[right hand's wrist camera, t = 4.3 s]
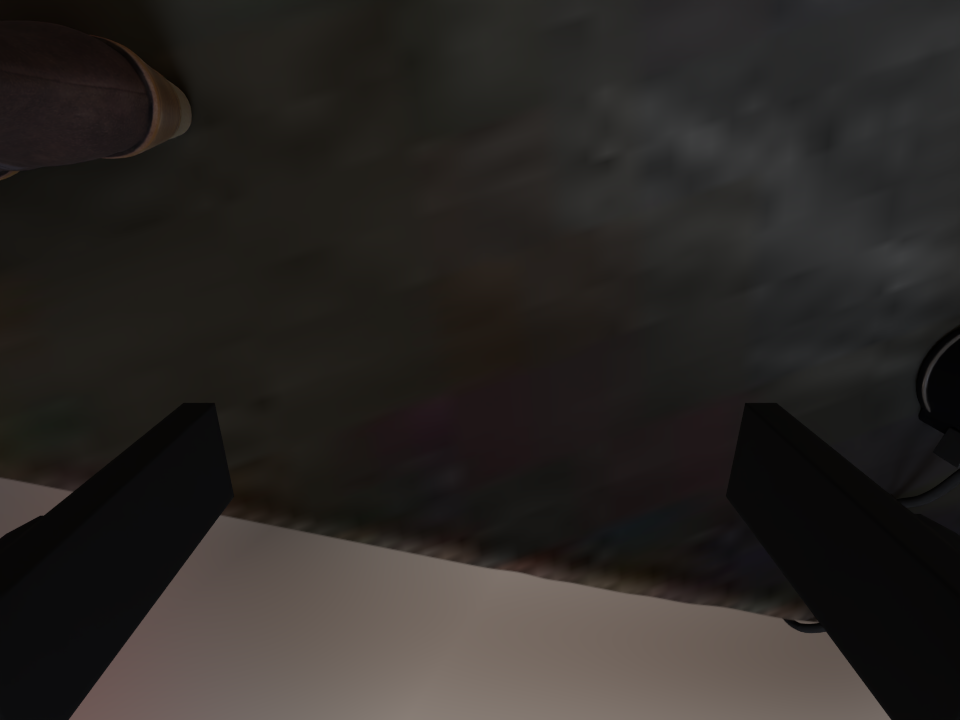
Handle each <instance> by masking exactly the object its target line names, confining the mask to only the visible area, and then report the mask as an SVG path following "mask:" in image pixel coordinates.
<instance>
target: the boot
mask: <svg viewBox="0 0 960 720" xmlns="http://www.w3.org/2000/svg"><path fill="white" fill-rule="evenodd" d="M191 117H192V114H191V107H190V104H189V101H188V99H187V98H186V96H185V94H184V93H183V92H182V91H181V90H180V89H179V88H178V87H176V86H175V85H174V84H172V83H171V82H170V81H168V80H167V79H165V78H164V77H163V76H162V75H161V74H160V73H158V72H157V71H156V70H154V69H152V68H151V67H150V66H149V65H147V64H146V63H145V62H144V61H143V60H142V59H141V58H140V57H139V56H137V55H136V54H135V53H134V52H133V51H131V50H130V49H128V48H127V47H125V46H123V45H121V44H119V43H117V42H114V41H112V40H109V39H106V38H102V37H98V36H94V35H88V34H85V33H83V32H81V31H78V30H76V29H73V28H70V27H66V26H63V25H59V24H54V23H49V22H40V21H32V20H7V21H0V180H3V179H6V178H8V177H11V176H13V175H14V174H16V173H18V172H19V171H23V170H31V169H36V168H41V167H49V166H61V165H69V164H75V163H80V162H85V161H90V160H95V159H99V158H126V157H131V156H134V155H137V154H140V153H142V152H144V151H146V150H148V149H150V148H152V147H155V146H157V145H159V144H161V143H163V142H165V141H167V140H169V139H172V138H175V137H177V136H180V135H182V134H184V133H185V132H186V131H187V130H188V128H189V126H190V124H191Z"/></svg>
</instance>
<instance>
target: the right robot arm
mask: <svg viewBox="0 0 960 720" xmlns="http://www.w3.org/2000/svg"><path fill="white" fill-rule="evenodd" d="M233 497H234V494H233V489H232V484H231V480H230V475H229V470H228V465H227V460H226V456H225V451H224V446H223V441H222V436H221V431H220V427H219V422H218V417H217V412H216V407H215V403H183V404H182V405H181V406H179V407H178V408H177V409H176V410H174V411H173V412H172V413H171V414H169V415H168V416H167V417H166V418H164V419H163V420H162V421H161V422H159V423H158V424H157V425H156V426H155V427H153V428H152V429H151V430H150V431H148V432H147V433H146V434H145V435H143V436H142V437H141V438H140V439H138V440H137V441H136V442H135V443H133V444H132V445H131V446H130V447H128V448H127V449H126V450H125V451H124V452H122V453H121V454H120V455H119V456H117V457H116V458H115V459H114V460H112V461H111V462H110V463H109V464H107V465H106V466H105V467H104V468H102V469H101V470H100V471H99V472H97V473H96V474H95V475H94V476H93V477H91V478H90V479H89V480H88V481H86V482H85V483H84V484H83V485H81V486H80V487H79V488H78V489H76V490H75V491H74V492H73V493H71V494H70V495H69V496H68V497H66V498H65V499H64V500H63V501H62V502H60V503H59V504H58V505H57V506H55V507H54V508H53V509H52V510H50V511H49V512H48V513H47V514H45V515H44V516H39V517H37V518H35V519H33V520H31V521H29V522H28V523H26V524H24V525H22V526H20V527H18V528H16V529H15V530H13V531H11V532H9V533H7V534H5V535H4V536H3V537H2V538H0V720H69V718H70V717H71V716H72V714H73V713H74V712H75V710H76V709H77V708H78V706H79V705H80V704H81V702H82V701H83V700H84V698H85V697H86V696H87V694H88V693H89V691H90V690H91V689H92V687H93V686H94V685H95V683H96V682H97V681H98V679H99V678H100V677H101V675H102V674H103V673H104V671H105V670H106V668H107V667H108V666H109V664H110V663H111V662H112V660H113V659H114V658H115V656H116V655H117V654H118V652H119V651H120V650H121V648H122V647H123V646H124V644H125V643H126V642H127V640H128V639H129V637H130V636H131V635H132V633H133V632H134V631H135V629H136V628H137V627H138V625H139V624H140V623H141V621H142V620H143V619H144V617H145V616H146V615H147V613H148V612H149V610H150V609H151V608H152V606H153V605H154V604H155V602H156V601H157V600H158V598H159V597H160V596H161V594H162V593H163V592H164V590H165V589H166V587H167V586H168V585H169V583H170V582H171V581H172V579H173V578H174V577H175V575H176V574H177V573H178V571H179V570H180V568H181V567H182V566H183V565H184V563H185V562H186V560H187V559H188V558H189V556H190V555H191V554H192V552H193V551H194V550H195V548H196V547H197V546H198V544H199V543H200V542H201V540H202V539H203V538H204V536H205V535H206V533H207V532H208V531H209V529H210V528H211V527H212V525H213V524H214V523H215V521H216V520H217V519H218V517H219V516H220V515H221V513H222V512H223V511H224V509H225V508H226V506H227V505H228V504H229V502H230V501H231V500H232V498H233ZM726 497H727V498H728V500H729V501H730V502H731V504H732V505H733V506H734V508H735V509H736V511H737V512H738V513H739V515H740V516H741V517H742V519H743V520H744V521H745V523H746V524H747V525H748V527H749V528H750V529H751V531H752V532H753V533H754V535H755V536H756V538H757V539H758V540H759V542H760V543H761V544H762V546H763V547H764V548H765V550H766V551H767V552H768V554H769V555H770V556H771V558H772V559H773V560H774V562H775V563H776V565H777V566H778V567H779V569H780V570H781V571H782V573H783V574H784V575H785V577H786V578H787V579H788V581H789V582H790V583H791V585H792V586H793V587H794V589H795V590H796V592H797V593H798V594H799V596H800V597H801V598H802V600H803V601H804V602H805V604H806V605H807V606H808V608H809V609H810V610H811V612H812V613H813V615H814V616H815V617H816V619H817V620H818V621H819V623H820V624H821V625H822V627H823V628H824V629H825V631H826V632H827V633H828V635H829V636H830V637H831V639H832V640H833V641H834V643H835V644H836V646H837V647H838V648H839V650H840V651H841V652H842V654H843V655H844V656H845V658H846V659H847V660H848V662H849V663H850V664H851V666H852V667H853V668H854V670H855V671H856V673H857V674H858V675H859V677H860V678H861V679H862V681H863V682H864V683H865V685H866V686H867V687H868V689H869V690H870V691H871V693H872V694H873V696H874V697H875V698H876V700H877V701H878V702H879V704H880V705H881V706H882V708H883V709H884V710H885V712H886V713H887V714H888V716H889V717H890V718H891V720H960V536H959V535H958V534H956V533H955V532H953V531H952V530H950V529H948V528H946V527H944V526H942V525H940V524H938V523H936V522H935V521H933V520H931V519H929V518H927V517H925V516H923V515H921V514H913V513H912V512H911V511H910V510H908V509H907V508H906V507H905V506H903V505H902V504H901V503H900V502H898V501H897V500H896V499H895V498H894V497H892V496H891V495H890V494H889V493H887V492H886V491H885V490H884V489H882V488H881V487H880V486H879V485H877V484H876V483H875V482H874V481H872V480H871V479H870V478H869V477H867V476H866V475H865V474H864V473H863V472H861V471H860V470H859V469H858V468H856V467H855V466H854V465H853V464H851V463H850V462H849V461H848V460H846V459H845V458H844V457H843V456H841V455H840V454H839V453H838V452H836V451H835V450H834V449H833V448H832V447H830V446H829V445H828V444H827V443H825V442H824V441H823V440H822V439H820V438H819V437H818V436H817V435H815V434H814V433H813V432H812V431H810V430H809V429H808V428H807V427H805V426H804V425H803V424H802V423H801V422H799V421H798V420H797V419H796V418H794V417H793V416H792V415H791V414H789V413H788V412H787V411H786V410H784V409H783V408H782V407H781V406H779V405H778V404H777V403H745V407H744V412H743V417H742V422H741V427H740V431H739V436H738V441H737V446H736V451H735V456H734V460H733V465H732V470H731V475H730V480H729V484H728V489H727V494H726Z"/></svg>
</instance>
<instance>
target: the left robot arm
mask: <svg viewBox="0 0 960 720" xmlns="http://www.w3.org/2000/svg"><path fill="white" fill-rule="evenodd" d="M917 397H918V400H919V403H920V405H921V407H922V410H921V413H920V415H919V419H920V420H921V421H923V422H925V423H927V424H928V425H930V426H932V427H933V428H935V429H937V430H939V431H940V432H942V433H944V434H945V435H944V436H943V438H942V439H941V441H940V442H939V444H938V445H937V447H936V448H935V450H934V451H933V453H935V454H936V455H938V456H939V457H941V458H942V459H944V460H946V461H947V462H949V463H950V464H952V465H953V466H955V467H957V468H960V329H958V330H956V331H954V332H953V333H951V334H950V335H948V336H947V337H946V338H945V339H943V340H942V341H941V342H940V343H939V344H938V345H937V346H936V347H935V348H934V349H933V350H932V352H931V353H930V354H929V355H928V357H927V358H926V360H925V362H924V363H923V365H922V367H921V370H920V372H919V375H918V379H917ZM959 484H960V469H958V470H957V471H956V472H954V473H953V474H952V475H951V476H949V477H948V478H947V479H945V480H944V481H943V482H941V483H940V484H939V485H937V486H936V487H934V488H933V489H931V490H929V491H927V492H925V493H923V494H921V495H918V496H915V497H909V498H901V499H896V500H897V501H898V502H900V503H901V504H902V505H903V506H905V507H906V508H908V507H917V506H922V505H925V504H928V503H930V502H932V501H934V500H936V499H938V498H940V497H941V496H943V495H945V494H946V493H948V492H949V491H951V490H952V489H953V488H955V487H956V486H957V485H959ZM783 620H784V621H785V622H786V623H787V624H788V625H789V626H790V627H792V628H794V629H796V630H798V631H800V632H805V633H821V632H826V631H825V629H824V628H823V627H822V625H821V624H820V623H815V624H803V623H799V622H797V621H795V620H788V619H783Z"/></svg>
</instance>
